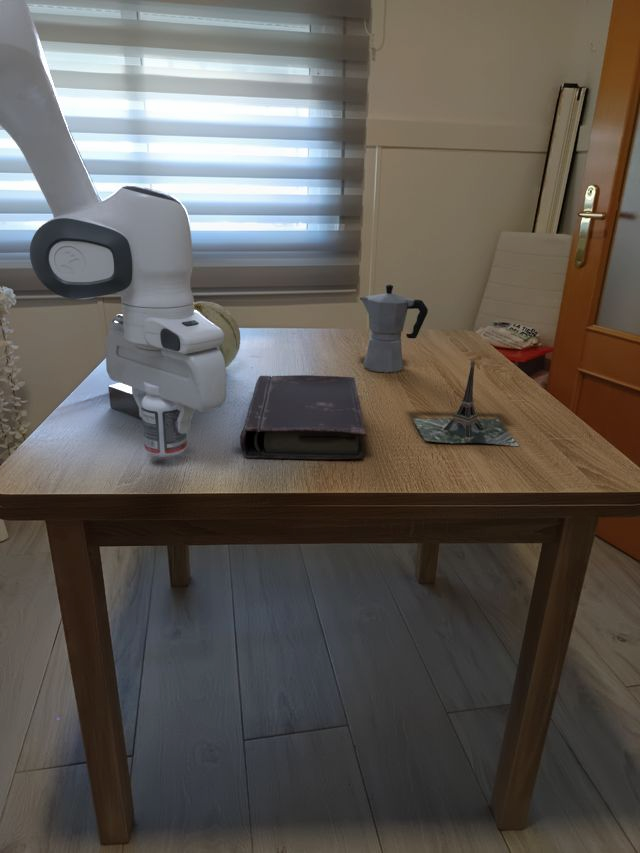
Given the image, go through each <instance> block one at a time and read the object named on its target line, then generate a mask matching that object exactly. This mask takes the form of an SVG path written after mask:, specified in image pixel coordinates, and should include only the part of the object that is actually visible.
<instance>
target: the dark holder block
mask: <svg viewBox="0 0 640 853" xmlns="http://www.w3.org/2000/svg"><path fill="white" fill-rule="evenodd" d="M107 389H108V398H109V405H110V408H111V409H112V410H115V411H119V412H121V413H123V414H126V415H128V416H132V417H134V418H136V419H139V420H142V421H143V419H142V418H141V417H140V415H139V406H138V405H137V403H136V401H135V398H134V396H133V394H132V387H130V386H127V385H124V384H122V383H119V382H116V383H114V384H110V385H108V387H107Z"/></svg>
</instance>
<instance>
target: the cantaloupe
mask: <svg viewBox="0 0 640 853" xmlns="http://www.w3.org/2000/svg"><path fill="white" fill-rule="evenodd" d="M194 310H196V311H198V312H199V313H200V314H201V315H202V316H203V317H205V318H206V319H207V320H209V321H210V322H211V323H213V324H214V325H216V326H217V327H219V328H220V329H221V330H222V331H223V333H224V343H223V345H222V346H219V347H217V348H218V349H219V350H220V351H221V353H222V354H223V357H224V361H225V369H226V368H227V367H228V366H230V365H231V364H232V362H233V361H234V360H235V359H236V357H237V355H238V353H239V351H240V347H241V331H240V327H239V325H238V323H237V321H236V319H235V317H234V315H232V314H231V313H230V311H229V310H227V309H226V307H223V306H222V305H220V304H218V303H216V302H214V301H213V302H212V301H201V300H200V301H196V302H195V301H194Z"/></svg>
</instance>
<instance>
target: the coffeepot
mask: <svg viewBox="0 0 640 853" xmlns="http://www.w3.org/2000/svg"><path fill="white" fill-rule="evenodd" d="M393 290H394V285H393V284H386V285H385V292H386V293H380V294H372V295H366V296H365V295H364V296H360V297H359V300H360V301H361V302H362V303H363V306H364V307H365V310H366V312H367V314H368V324H369V325H368V326H369V330H370V331H369V332H370V333H369V339H368V344H367V348H366V353H365V358H364V361H363V368H364V369H366V370H368V371H370V372H374V373H379V372H384V373H383V374H393V373H392V372H395V373H398V372H397V371H399V372H401V371H403V370H404V367H403V366H404V364H403V349H402V332H403V331H404V326H405V322H406V318H407V314H408V310H414V309H418V311H419V312H418V314H417V317H416V321H415V323H414V325H413V328H412V332H411V333H406V338H407V339H412V340H413V339H416V338H418V335H419V332H420V331H421V328H422V326H423V324H424V323H425V322H424V321H425V319H426V317H427V316H428V313H429V310H428V307H427V305H426V304H425V303H424V301H423V300H421V299H413V298H407V297H404V296H401V295H397V294H395V293H393ZM400 370H401V371H400ZM389 372H390V373H389Z"/></svg>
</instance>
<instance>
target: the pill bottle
mask: <svg viewBox="0 0 640 853" xmlns="http://www.w3.org/2000/svg"><path fill="white" fill-rule="evenodd" d="M144 391H145V392H146V396H145V397H144V398H143V399H142V403H141V405H142V419H143V420H142V419H141V420H142V432H143V445H144V450H145V452H147V454H149V455H151V456H155V457H160V458H161V457H162V458H164V457H173V456H177V455H180V454H182V453H183V452H184V451H185V450H186V449H187V446H188V438H187V434H188V433H184V434H181V433H179V432H176V431H174V430H173V427H174V425H173V419H177V418H178V416H179V414H180V411H179V410H177V403H175V402H172V401H169V400H167V399H164V398H161V397H159V395H160V394H159V387H157V386H154V385H152V384H149V383H146V382H144Z"/></svg>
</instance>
